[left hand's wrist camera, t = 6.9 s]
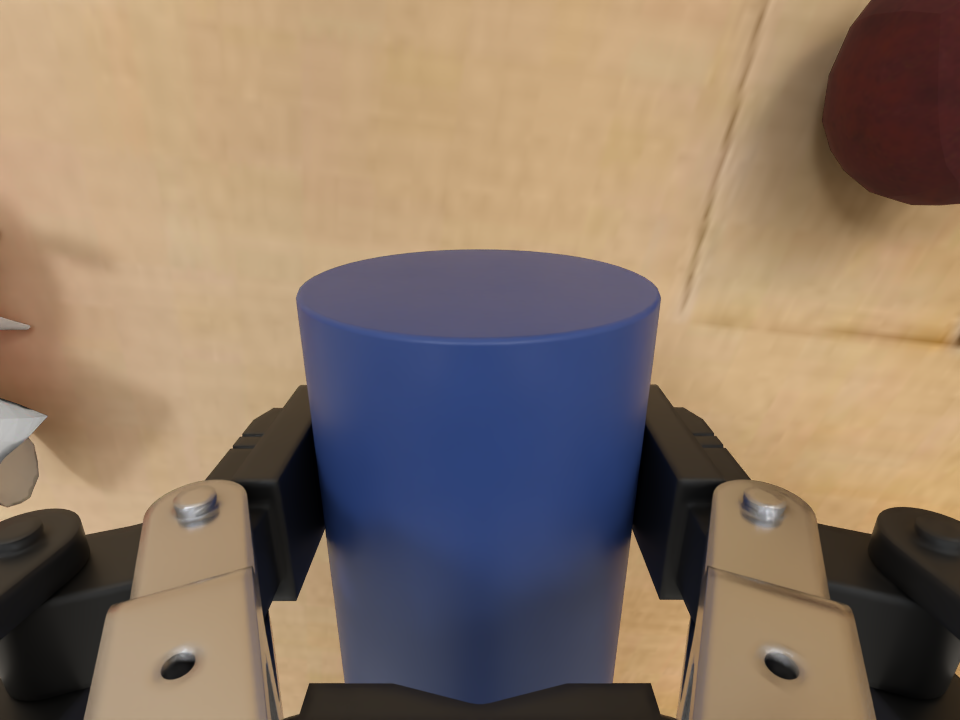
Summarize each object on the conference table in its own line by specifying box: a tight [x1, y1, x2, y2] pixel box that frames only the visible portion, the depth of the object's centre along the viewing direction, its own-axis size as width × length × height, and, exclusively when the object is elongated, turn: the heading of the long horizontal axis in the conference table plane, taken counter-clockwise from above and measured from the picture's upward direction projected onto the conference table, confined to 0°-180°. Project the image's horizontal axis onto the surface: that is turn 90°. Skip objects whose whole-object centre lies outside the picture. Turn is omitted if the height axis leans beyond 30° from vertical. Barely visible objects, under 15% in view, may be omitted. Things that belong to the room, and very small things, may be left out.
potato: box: [822, 0, 960, 205], centre depth 18 cm, size 7×8×7 cm
